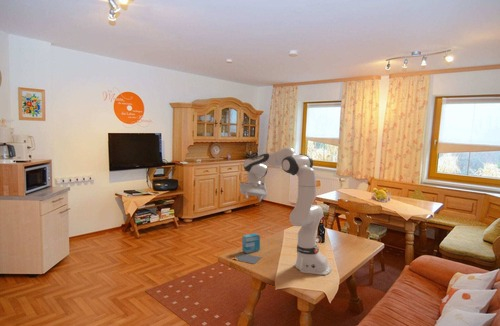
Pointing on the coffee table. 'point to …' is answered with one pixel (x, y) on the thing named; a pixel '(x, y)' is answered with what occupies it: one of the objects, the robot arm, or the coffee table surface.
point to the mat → (247, 258)
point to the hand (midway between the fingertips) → (253, 199)
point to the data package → (251, 243)
